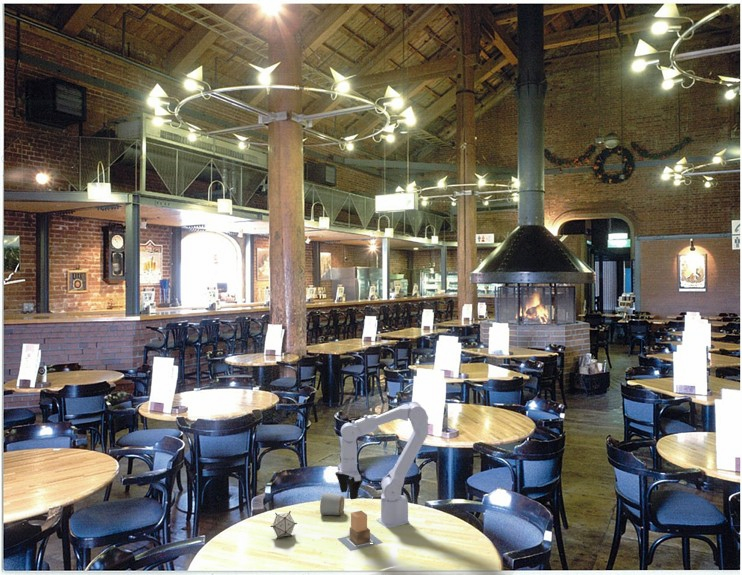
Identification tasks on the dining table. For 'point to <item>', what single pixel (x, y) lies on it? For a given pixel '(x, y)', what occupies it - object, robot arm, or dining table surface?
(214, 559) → the dining table surface
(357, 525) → the terracotta block
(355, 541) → the walnut block
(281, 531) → the game die
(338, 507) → the grey cylinder
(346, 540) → the mat
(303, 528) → the dining table surface
